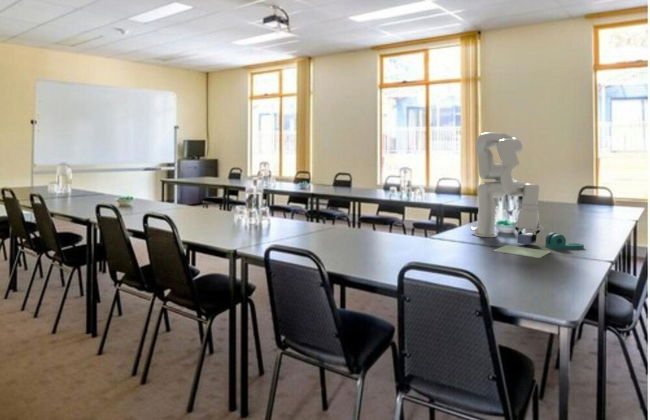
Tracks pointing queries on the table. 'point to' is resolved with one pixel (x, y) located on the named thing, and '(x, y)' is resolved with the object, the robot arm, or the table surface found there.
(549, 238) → the bracket
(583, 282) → the table surface
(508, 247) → the mat
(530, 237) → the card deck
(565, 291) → the table surface
